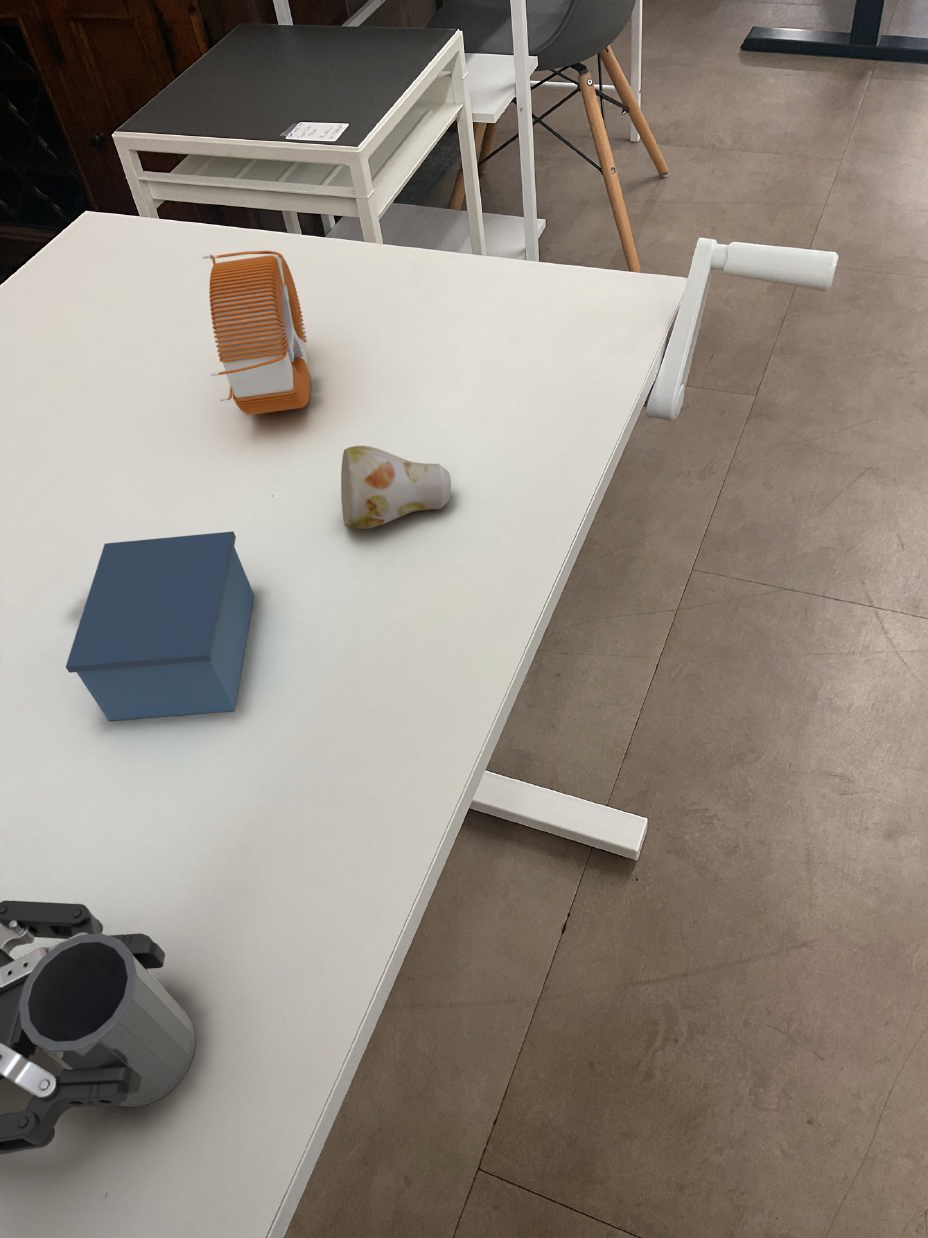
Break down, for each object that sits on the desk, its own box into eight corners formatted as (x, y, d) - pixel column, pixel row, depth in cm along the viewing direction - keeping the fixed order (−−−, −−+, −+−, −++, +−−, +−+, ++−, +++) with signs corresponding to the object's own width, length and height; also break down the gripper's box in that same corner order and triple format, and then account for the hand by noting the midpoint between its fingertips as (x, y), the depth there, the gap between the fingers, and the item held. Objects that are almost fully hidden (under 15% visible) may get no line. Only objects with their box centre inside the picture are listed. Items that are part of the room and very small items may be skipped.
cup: (185, 1105, 58) (121, 1048, 51) (82, 1109, 59) (4, 1054, 51) (203, 998, 62) (145, 930, 55) (106, 1003, 63) (37, 936, 55)
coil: (314, 352, 107) (278, 220, 96) (309, 441, 98) (269, 306, 86) (250, 361, 108) (207, 230, 97) (239, 451, 98) (190, 317, 87)
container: (238, 714, 77) (209, 655, 71) (103, 724, 78) (65, 667, 72) (258, 592, 85) (233, 530, 80) (137, 602, 86) (104, 543, 80)
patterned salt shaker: (470, 523, 88) (404, 473, 80) (380, 565, 92) (309, 521, 84) (459, 454, 91) (395, 399, 83) (372, 497, 95) (303, 448, 87)
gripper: (-234, 1152, 50) (92, 1137, 48) (-126, 882, 59) (150, 864, 58) (-148, 1187, 55) (147, 1174, 54) (-61, 935, 65) (191, 919, 64)
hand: (147, 1014), depth 56 cm, fingers closed on cup, 6 cm apart
